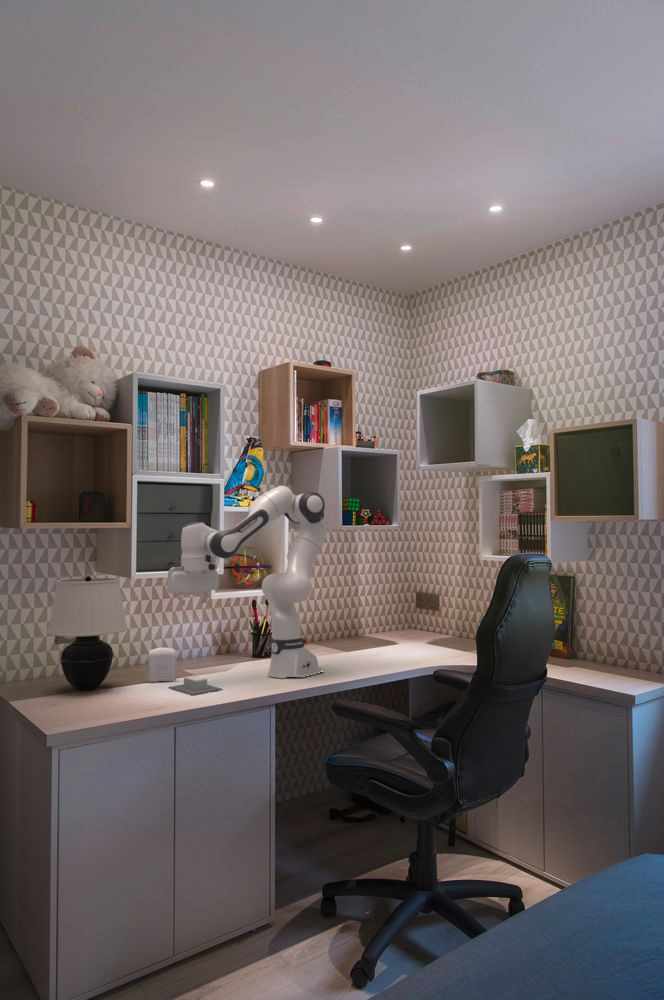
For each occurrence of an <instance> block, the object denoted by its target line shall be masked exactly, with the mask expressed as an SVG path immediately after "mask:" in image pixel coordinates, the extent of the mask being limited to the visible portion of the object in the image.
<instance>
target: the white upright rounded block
mask: <svg viewBox="0 0 664 1000" xmlns="http://www.w3.org/2000/svg"><path fill="white" fill-rule="evenodd" d="M148 652H149V653H148V654H147V655H148V656H147V682H148V683H160V682H159V681H167V682H175V681H174V680H177V653H176V650H175V648H171V647H157V648H153V649H150V650H149V651H148Z"/></svg>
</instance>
